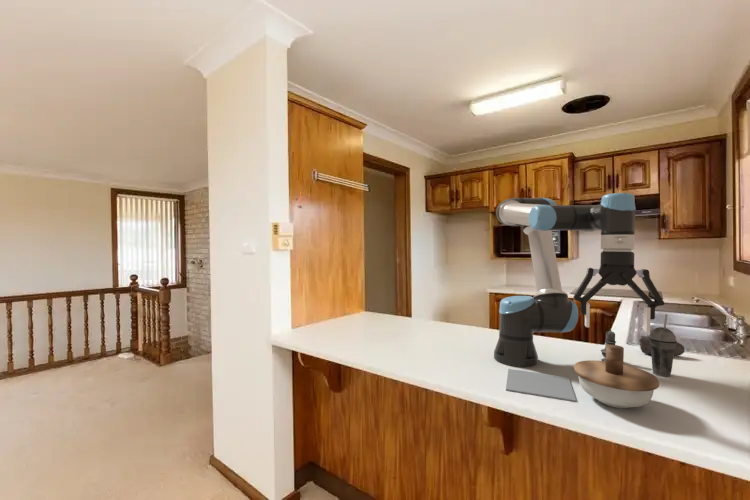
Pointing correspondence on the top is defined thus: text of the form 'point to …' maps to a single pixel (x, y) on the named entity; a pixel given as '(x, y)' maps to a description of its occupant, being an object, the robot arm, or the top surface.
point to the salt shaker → (608, 342)
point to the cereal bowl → (616, 395)
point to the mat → (540, 384)
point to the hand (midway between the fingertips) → (616, 329)
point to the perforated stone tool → (646, 346)
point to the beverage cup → (662, 350)
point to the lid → (616, 372)
